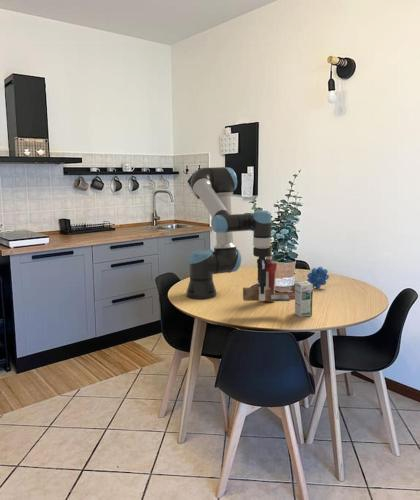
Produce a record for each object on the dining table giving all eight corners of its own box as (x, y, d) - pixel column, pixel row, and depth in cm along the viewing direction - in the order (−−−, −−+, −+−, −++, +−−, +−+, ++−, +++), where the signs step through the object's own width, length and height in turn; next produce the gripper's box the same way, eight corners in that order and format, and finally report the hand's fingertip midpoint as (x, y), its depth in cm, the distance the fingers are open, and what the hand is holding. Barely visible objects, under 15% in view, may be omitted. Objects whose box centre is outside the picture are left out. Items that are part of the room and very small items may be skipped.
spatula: (243, 301, 192) (243, 290, 191) (242, 297, 198) (242, 286, 197) (289, 301, 192) (289, 290, 191) (287, 297, 198) (287, 286, 197)
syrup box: (300, 317, 192) (301, 284, 190) (294, 312, 198) (295, 281, 195) (312, 315, 194) (313, 283, 191) (305, 311, 200) (306, 280, 197)
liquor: (258, 299, 218) (258, 244, 213) (271, 298, 220) (272, 242, 215) (265, 304, 211) (266, 246, 206) (278, 302, 214) (279, 245, 209)
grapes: (326, 286, 241) (327, 264, 239) (329, 289, 234) (330, 267, 232) (305, 286, 242) (305, 264, 240) (307, 289, 235) (307, 267, 233)
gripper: (273, 250, 182) (272, 304, 187) (268, 243, 199) (267, 293, 203) (255, 250, 182) (254, 304, 187) (251, 243, 199) (251, 293, 203)
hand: (261, 298), depth 195 cm, fingers closed on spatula, 3 cm apart
